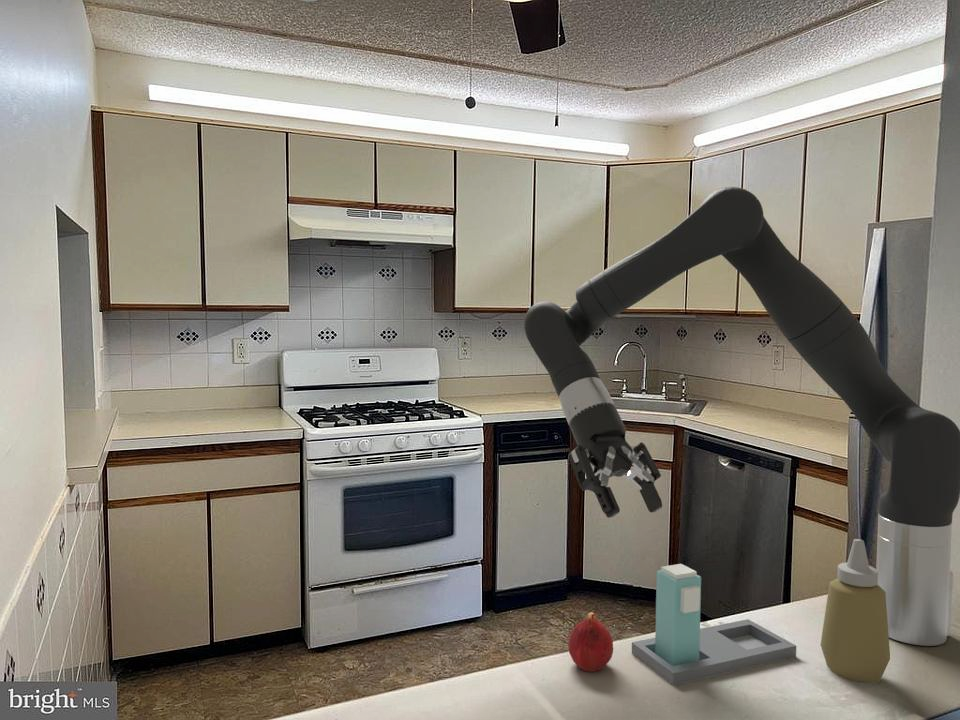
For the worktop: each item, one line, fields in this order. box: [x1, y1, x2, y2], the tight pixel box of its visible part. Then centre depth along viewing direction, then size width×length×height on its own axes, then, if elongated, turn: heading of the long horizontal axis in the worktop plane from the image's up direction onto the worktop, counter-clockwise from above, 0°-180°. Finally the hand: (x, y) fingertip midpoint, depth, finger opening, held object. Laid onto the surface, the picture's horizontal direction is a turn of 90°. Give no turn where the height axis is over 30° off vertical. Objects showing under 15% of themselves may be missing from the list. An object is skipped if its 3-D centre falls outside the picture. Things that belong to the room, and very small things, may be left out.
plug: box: [654, 563, 702, 666], centre depth 94 cm, size 4×5×13 cm
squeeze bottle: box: [820, 538, 891, 684], centre depth 92 cm, size 8×8×18 cm
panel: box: [631, 618, 797, 686], centre depth 97 cm, size 20×9×2 cm, turn 112°
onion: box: [568, 611, 614, 673], centre depth 93 cm, size 6×6×8 cm
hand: (636, 512), depth 101 cm, fingers open, 8 cm apart
